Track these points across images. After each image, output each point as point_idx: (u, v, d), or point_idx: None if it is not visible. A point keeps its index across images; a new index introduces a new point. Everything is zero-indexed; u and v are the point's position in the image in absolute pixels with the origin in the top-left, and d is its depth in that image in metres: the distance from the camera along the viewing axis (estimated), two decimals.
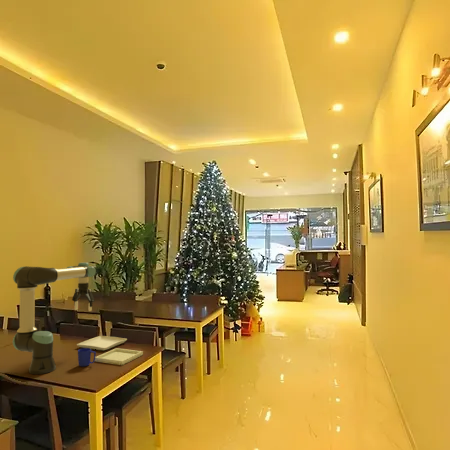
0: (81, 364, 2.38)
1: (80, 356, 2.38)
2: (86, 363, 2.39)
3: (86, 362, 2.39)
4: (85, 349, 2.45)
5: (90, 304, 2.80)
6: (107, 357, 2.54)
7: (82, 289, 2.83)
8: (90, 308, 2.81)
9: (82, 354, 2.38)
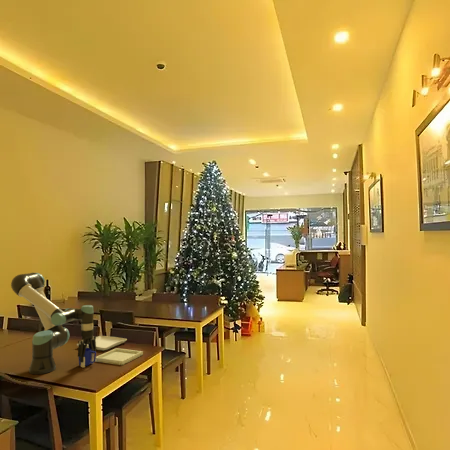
0: None
1: None
2: (86, 363, 2.39)
3: (87, 362, 2.39)
4: None
5: None
6: (107, 357, 2.54)
7: None
8: (82, 364, 2.37)
9: None
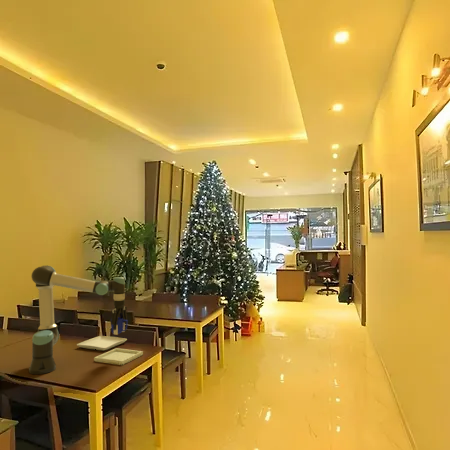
0: None
1: None
2: (119, 331, 2.54)
3: (119, 330, 2.54)
4: None
5: None
6: (107, 357, 2.54)
7: None
8: (115, 331, 2.52)
9: None
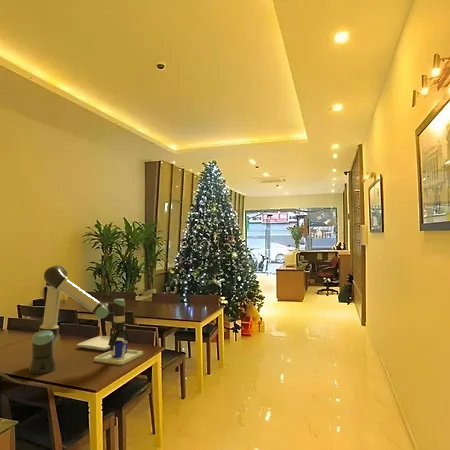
0: None
1: None
2: (119, 354, 2.54)
3: (119, 353, 2.54)
4: (117, 341, 2.60)
5: (111, 347, 2.49)
6: (107, 357, 2.54)
7: None
8: (112, 352, 2.49)
9: (115, 346, 2.53)
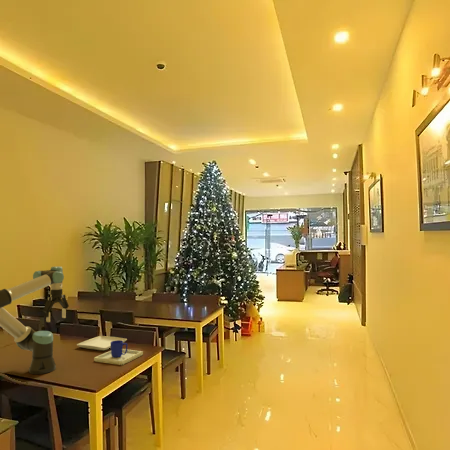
0: (114, 355, 2.53)
1: (113, 348, 2.53)
2: (119, 354, 2.54)
3: (119, 353, 2.54)
4: (117, 341, 2.60)
5: None
6: (107, 357, 2.54)
7: None
8: (47, 318, 2.49)
9: (115, 346, 2.53)
